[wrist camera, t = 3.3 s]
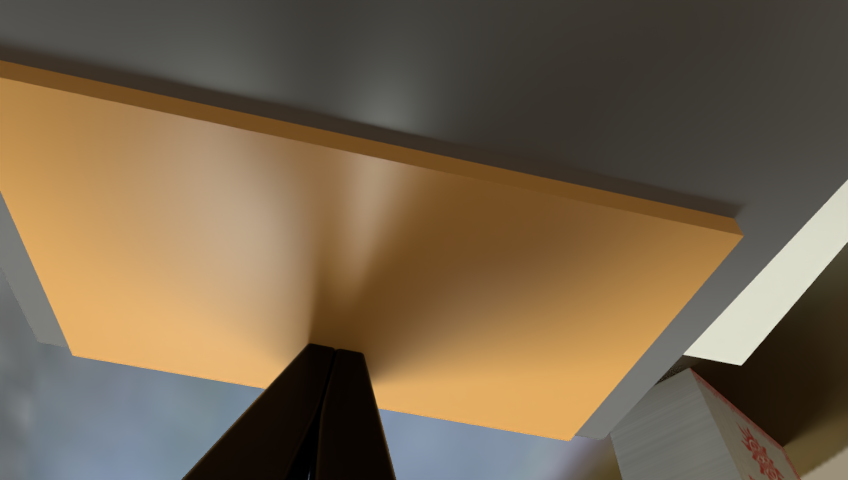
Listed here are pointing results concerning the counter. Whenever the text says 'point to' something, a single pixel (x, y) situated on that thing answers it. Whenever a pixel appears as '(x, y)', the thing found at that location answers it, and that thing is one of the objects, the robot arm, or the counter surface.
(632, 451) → the printed cardboard box
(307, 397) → the robot arm
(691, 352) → the breaker housing
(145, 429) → the counter surface
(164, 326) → the rocker switch
